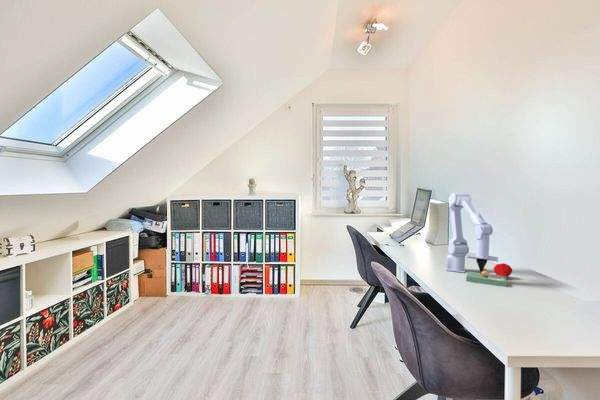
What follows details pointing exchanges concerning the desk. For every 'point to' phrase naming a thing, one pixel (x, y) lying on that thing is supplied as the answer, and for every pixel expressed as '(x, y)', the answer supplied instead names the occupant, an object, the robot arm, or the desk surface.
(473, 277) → the green flat board
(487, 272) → the ball
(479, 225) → the robot arm
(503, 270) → the gemstone
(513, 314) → the desk surface
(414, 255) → the desk surface
